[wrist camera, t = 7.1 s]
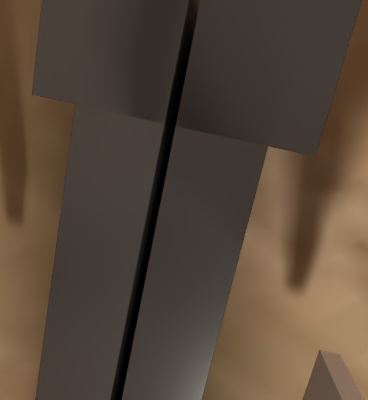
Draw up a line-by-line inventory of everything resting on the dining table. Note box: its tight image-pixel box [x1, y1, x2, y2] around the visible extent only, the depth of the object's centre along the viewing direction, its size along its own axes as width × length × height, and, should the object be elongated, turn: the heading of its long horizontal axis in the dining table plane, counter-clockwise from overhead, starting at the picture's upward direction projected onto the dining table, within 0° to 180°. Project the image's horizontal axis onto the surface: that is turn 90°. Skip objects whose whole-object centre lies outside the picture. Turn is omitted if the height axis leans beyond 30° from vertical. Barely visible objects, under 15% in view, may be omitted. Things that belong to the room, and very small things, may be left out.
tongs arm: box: [32, 0, 200, 400], centre depth 13 cm, size 23×3×7 cm, turn 168°
